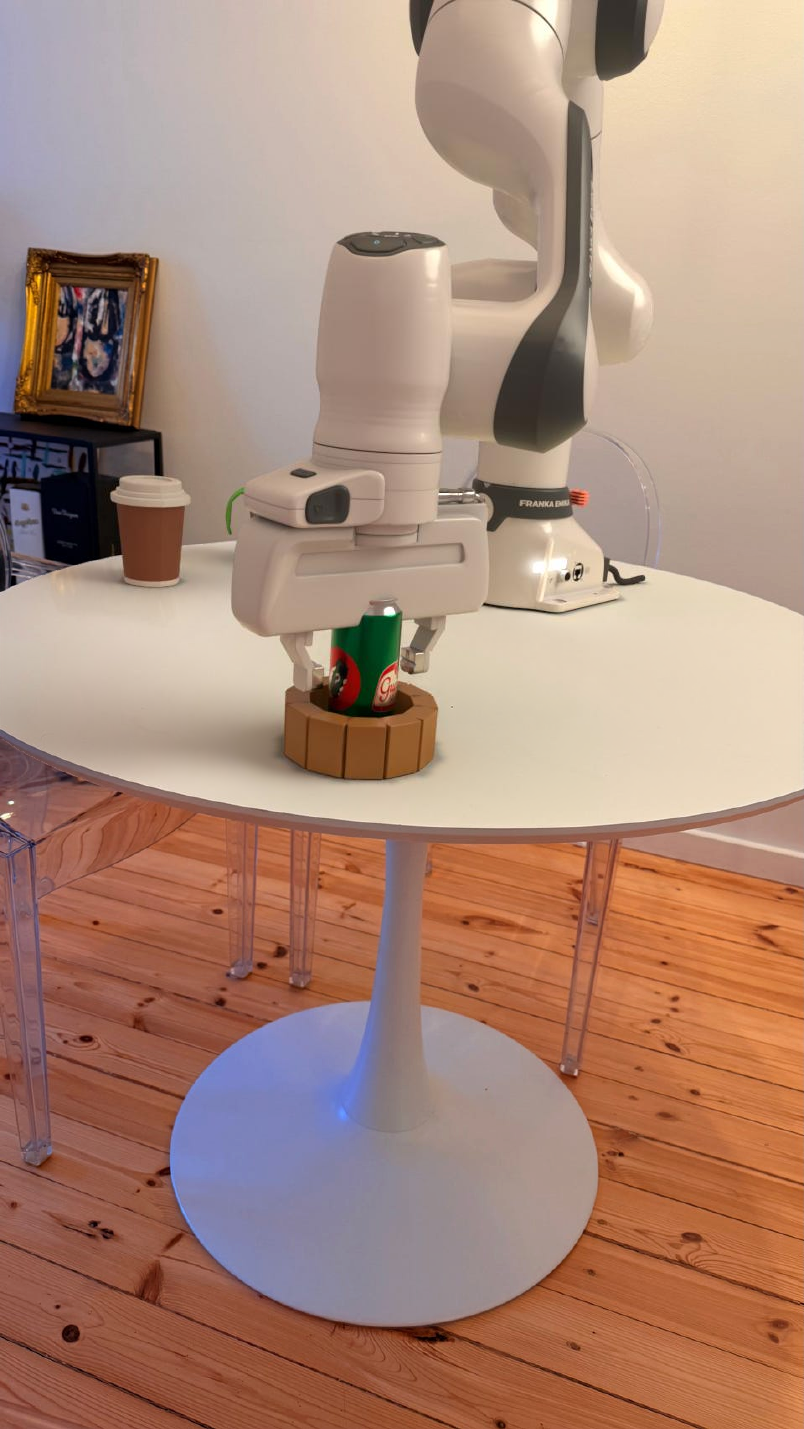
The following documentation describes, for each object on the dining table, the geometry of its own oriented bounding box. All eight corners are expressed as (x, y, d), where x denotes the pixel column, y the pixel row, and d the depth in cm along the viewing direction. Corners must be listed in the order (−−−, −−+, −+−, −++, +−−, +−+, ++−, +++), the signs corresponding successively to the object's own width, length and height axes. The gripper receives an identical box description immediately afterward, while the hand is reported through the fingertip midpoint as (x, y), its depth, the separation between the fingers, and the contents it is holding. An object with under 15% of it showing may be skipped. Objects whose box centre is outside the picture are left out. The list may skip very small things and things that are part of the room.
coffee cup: (97, 583, 116) (94, 479, 112) (135, 569, 124) (133, 471, 120) (169, 593, 114) (169, 488, 110) (202, 578, 123) (203, 479, 119)
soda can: (384, 765, 72) (396, 605, 68) (317, 755, 73) (325, 596, 69) (398, 741, 77) (410, 589, 73) (335, 732, 78) (343, 581, 73)
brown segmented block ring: (376, 713, 82) (379, 668, 81) (462, 762, 74) (467, 711, 72) (256, 735, 76) (257, 686, 74) (335, 791, 67) (338, 736, 66)
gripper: (462, 480, 76) (445, 651, 81) (221, 485, 65) (219, 685, 69) (517, 493, 72) (496, 674, 77) (268, 500, 60) (262, 714, 65)
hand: (362, 679), depth 73 cm, fingers open, 8 cm apart
